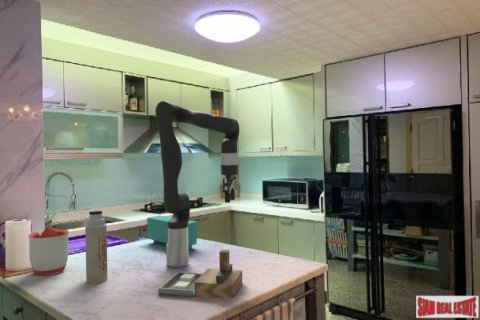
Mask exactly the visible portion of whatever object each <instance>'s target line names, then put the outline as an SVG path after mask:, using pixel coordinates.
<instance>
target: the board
mask: <svg viewBox="0 0 480 320" xmlns="http://www.w3.org/2000/svg"><path fill="white" fill-rule="evenodd" d="M219 272H220V268H209V267H208V268H207V269H206V270H205V271H204V272H202V273H203V274H202V275H201V276H200V277H199V278H198V279H197V280H196V281H195V282H194V283H195V296H194V297H200V298H212V299H224V298H226V300H227V299H228V300H234V298H235V296H236V295H237V293H238V291H239V290H240V288H241V286H242V285H243V270H241V269H240V270H239V269H232V272H231V273H230V275H229V276H228V277H227V279H226V280H225V281H224V283H223V284H222V283H216V276H217V274H218V273H219Z"/></svg>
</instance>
